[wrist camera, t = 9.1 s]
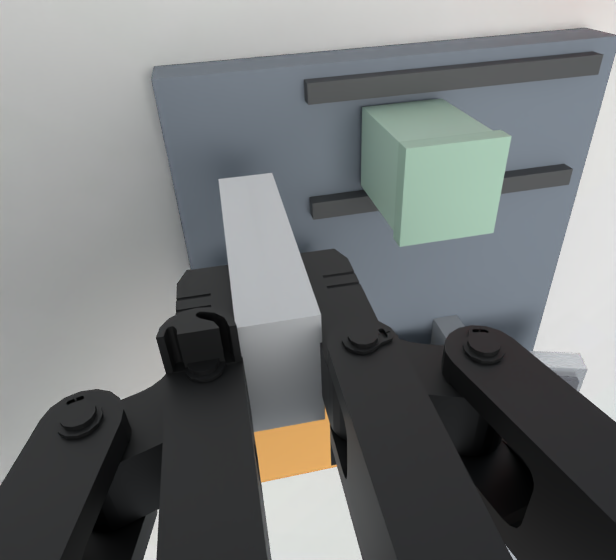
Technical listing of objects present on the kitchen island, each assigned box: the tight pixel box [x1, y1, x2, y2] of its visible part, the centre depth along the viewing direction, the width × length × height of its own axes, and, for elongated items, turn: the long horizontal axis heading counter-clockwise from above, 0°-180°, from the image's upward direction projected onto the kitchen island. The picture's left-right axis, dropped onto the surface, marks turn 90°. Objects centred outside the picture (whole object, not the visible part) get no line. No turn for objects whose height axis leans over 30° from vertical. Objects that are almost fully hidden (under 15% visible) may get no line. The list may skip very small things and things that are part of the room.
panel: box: [151, 28, 616, 351], centre depth 23 cm, size 17×20×4 cm
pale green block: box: [361, 98, 512, 247], centre depth 17 cm, size 3×3×5 cm
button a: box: [254, 408, 337, 482], centre depth 24 cm, size 4×4×3 cm
